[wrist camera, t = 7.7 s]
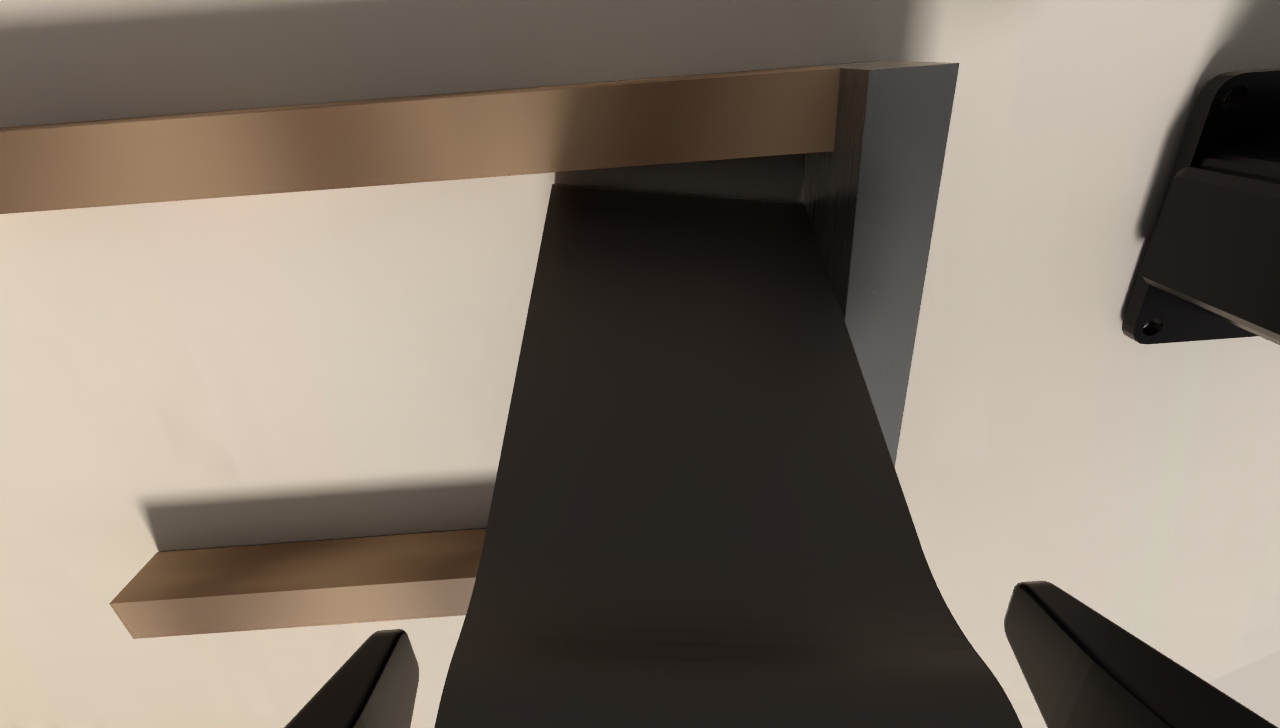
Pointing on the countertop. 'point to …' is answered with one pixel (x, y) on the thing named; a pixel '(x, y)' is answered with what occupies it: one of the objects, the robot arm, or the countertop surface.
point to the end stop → (882, 213)
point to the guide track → (370, 156)
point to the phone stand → (700, 496)
